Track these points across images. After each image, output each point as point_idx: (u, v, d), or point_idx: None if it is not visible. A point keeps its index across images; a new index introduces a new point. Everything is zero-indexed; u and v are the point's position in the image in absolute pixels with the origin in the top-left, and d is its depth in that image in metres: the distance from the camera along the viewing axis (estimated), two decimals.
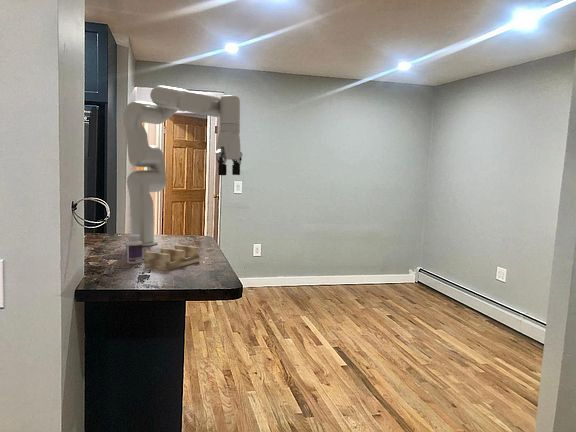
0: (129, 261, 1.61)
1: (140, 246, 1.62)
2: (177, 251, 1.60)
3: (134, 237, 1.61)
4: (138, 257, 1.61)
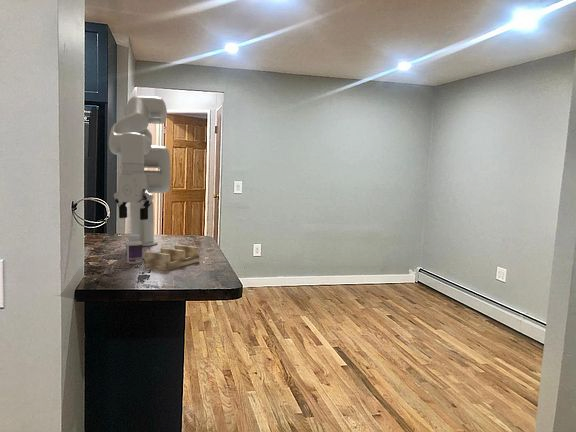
0: (129, 261, 1.61)
1: (140, 246, 1.62)
2: (177, 251, 1.60)
3: (134, 237, 1.61)
4: (138, 257, 1.61)
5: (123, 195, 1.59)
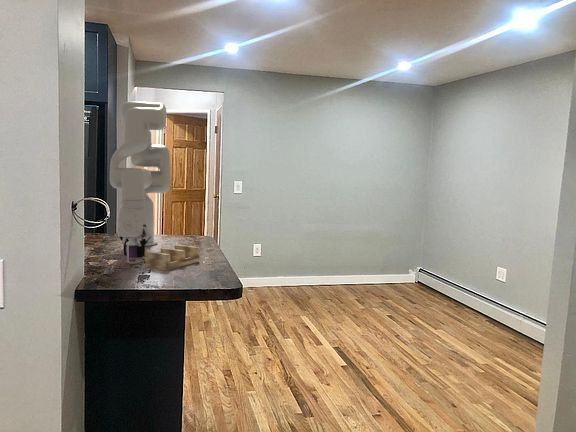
0: (129, 261, 1.61)
1: None
2: (177, 251, 1.60)
3: None
4: None
5: (124, 230, 1.60)
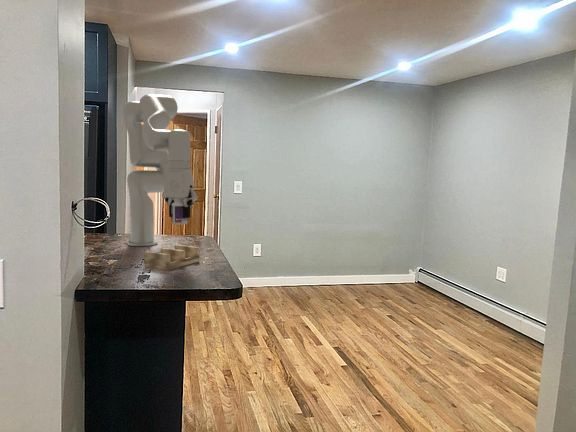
0: (175, 222, 1.61)
1: None
2: (177, 251, 1.60)
3: None
4: (184, 218, 1.62)
5: (170, 191, 1.61)
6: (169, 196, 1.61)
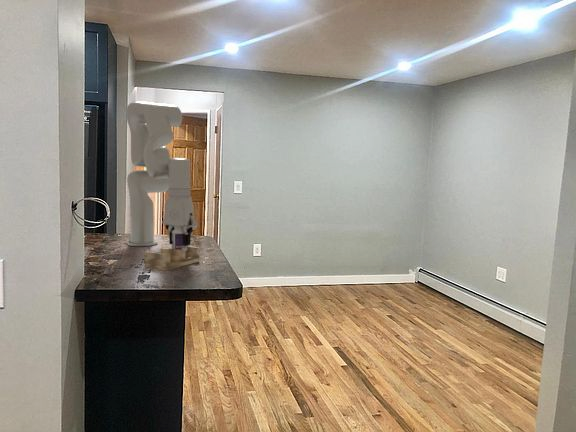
0: None
1: None
2: (177, 251, 1.60)
3: None
4: None
5: (170, 219, 1.62)
6: (169, 224, 1.63)
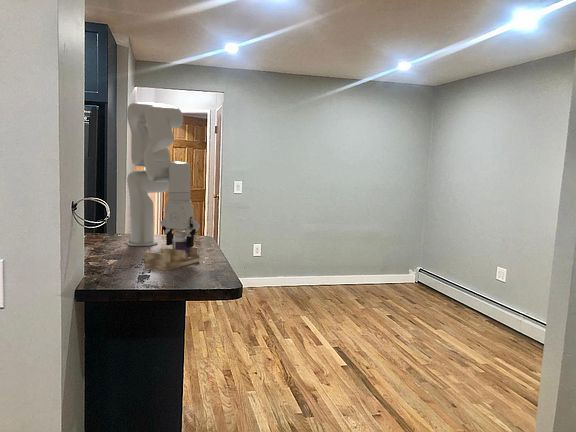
0: None
1: None
2: (177, 251, 1.60)
3: (181, 233, 1.63)
4: None
5: (170, 223, 1.62)
6: (169, 227, 1.63)
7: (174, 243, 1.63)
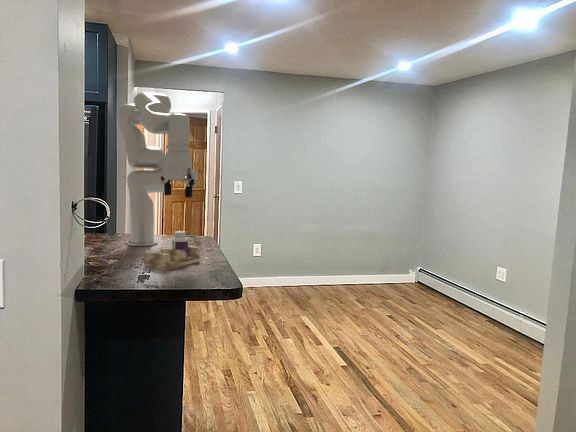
0: None
1: (186, 242, 1.64)
2: (177, 251, 1.60)
3: (180, 233, 1.63)
4: None
5: (169, 173, 1.66)
6: (168, 178, 1.67)
7: (174, 243, 1.63)
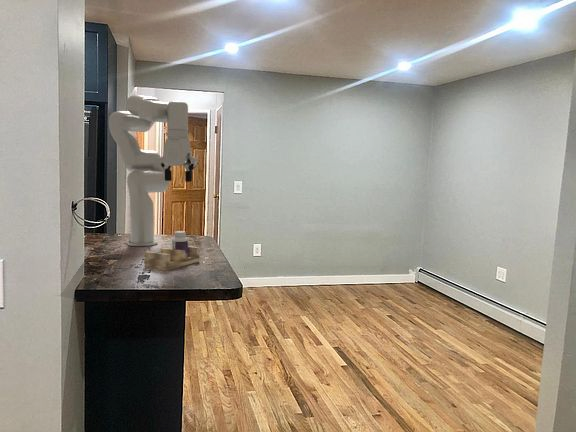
0: None
1: (186, 242, 1.64)
2: (177, 251, 1.60)
3: (180, 233, 1.63)
4: None
5: (169, 159, 1.73)
6: (168, 163, 1.73)
7: (174, 243, 1.63)
